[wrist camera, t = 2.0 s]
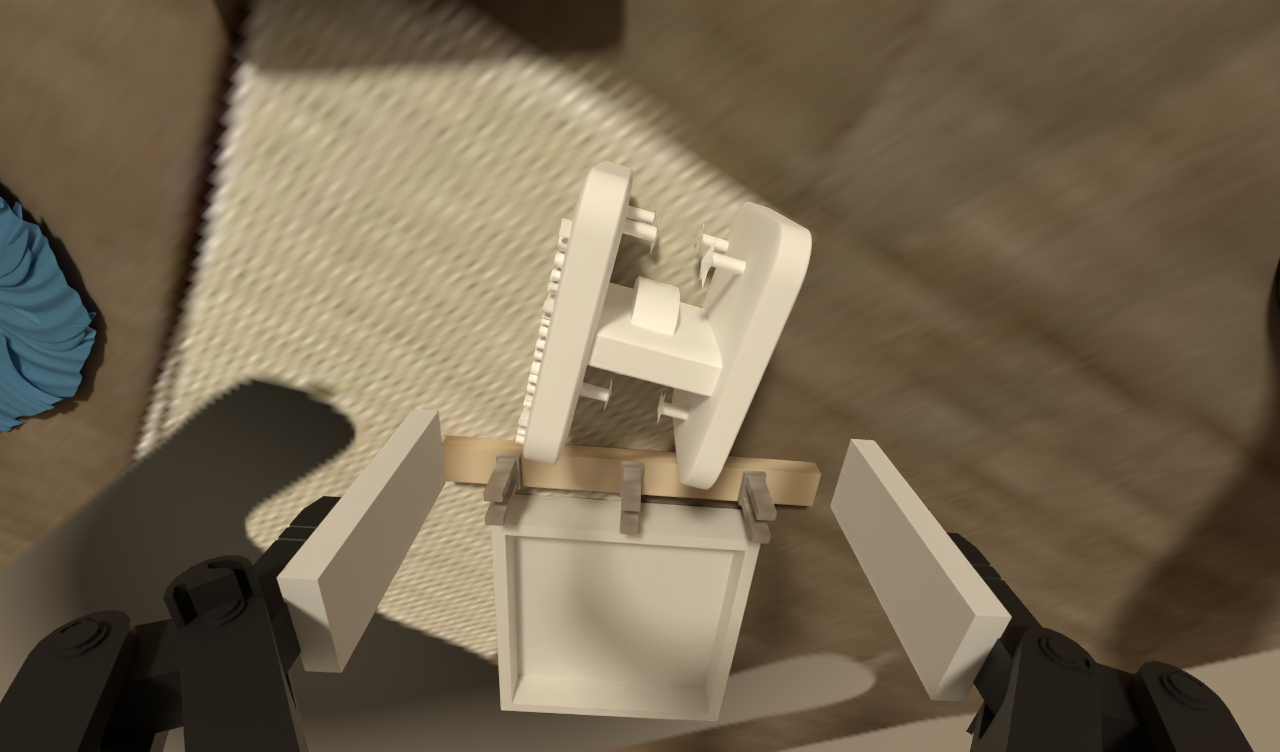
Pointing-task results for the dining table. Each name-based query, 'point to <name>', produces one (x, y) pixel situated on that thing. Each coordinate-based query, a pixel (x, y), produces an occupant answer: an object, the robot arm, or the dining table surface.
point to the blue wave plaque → (36, 323)
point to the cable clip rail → (627, 478)
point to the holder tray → (618, 607)
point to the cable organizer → (661, 324)
